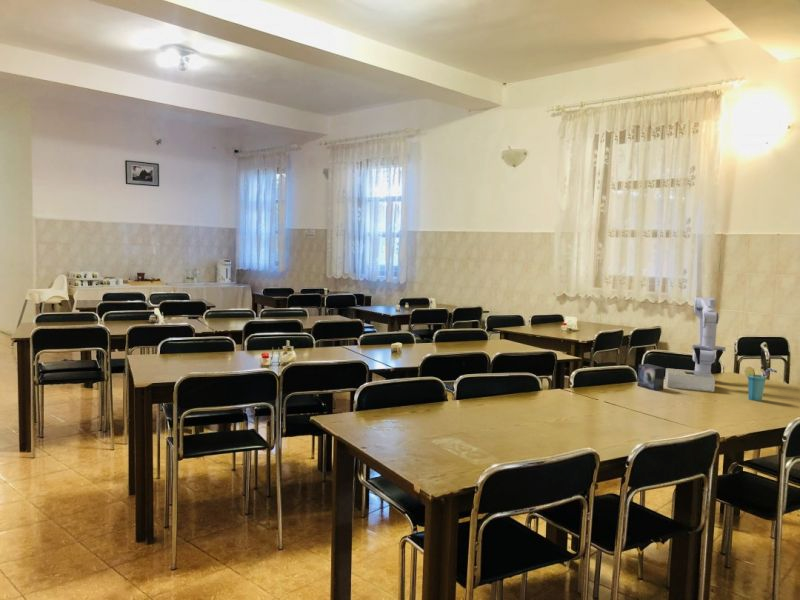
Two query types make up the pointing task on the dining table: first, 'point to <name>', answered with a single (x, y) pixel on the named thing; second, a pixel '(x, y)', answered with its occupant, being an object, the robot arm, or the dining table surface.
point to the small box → (651, 376)
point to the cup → (756, 383)
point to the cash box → (690, 380)
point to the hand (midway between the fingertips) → (707, 364)
